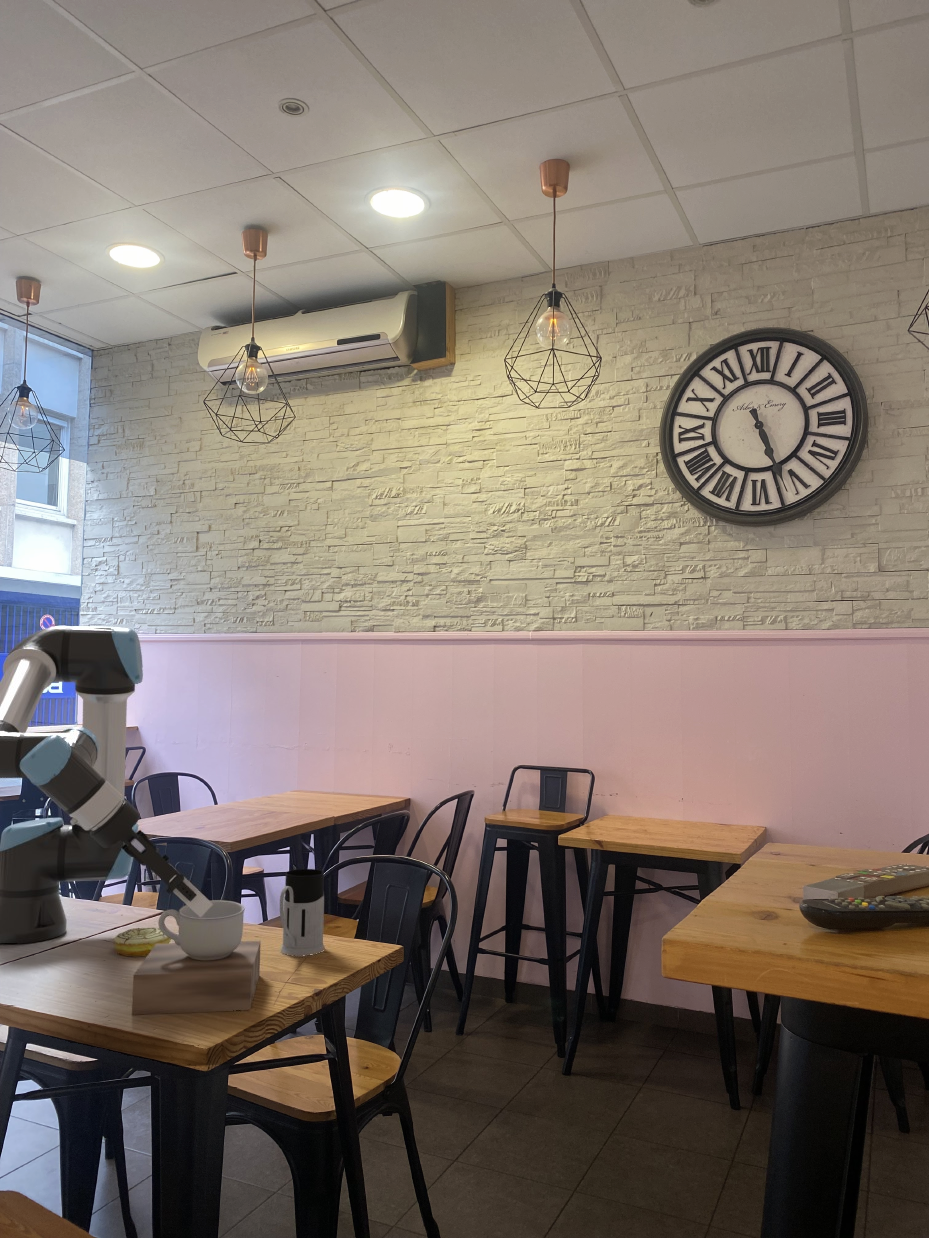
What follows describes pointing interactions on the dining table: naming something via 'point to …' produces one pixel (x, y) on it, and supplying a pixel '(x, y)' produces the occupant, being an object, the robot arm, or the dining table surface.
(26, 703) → the robot arm
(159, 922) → the teacup
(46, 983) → the dining table surface
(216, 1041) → the dining table surface
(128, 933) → the decorated donut
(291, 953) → the glass holder
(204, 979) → the block
